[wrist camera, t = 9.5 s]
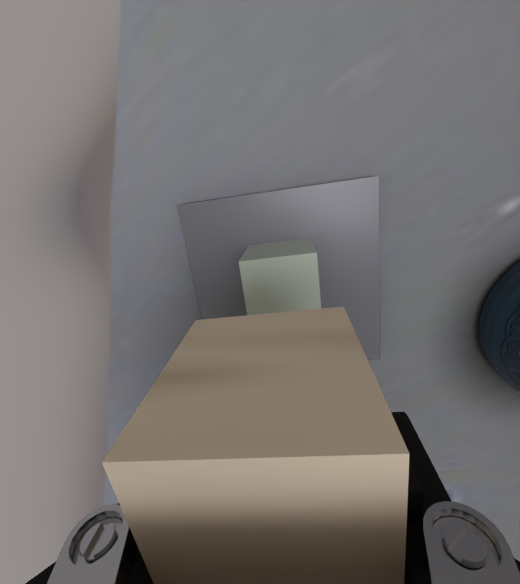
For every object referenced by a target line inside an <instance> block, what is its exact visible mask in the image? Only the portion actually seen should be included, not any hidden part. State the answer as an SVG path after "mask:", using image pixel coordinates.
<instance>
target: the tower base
mask: <svg viewBox="0 0 520 584" xmlns="http://www.w3.org/2000/svg"><path fill="white" fill-rule="evenodd" d="M177 208H178V212H179V217H180V221H181V226H182V230H183V235H184V240H185V244H186V249H187V253H188V258H189V262H190V267H191V271H192V276H193V280H194V285H195V289H196V294H197V298H198V303H199V307H200V312H201V316H202V319H213V318H224V317H235V316H246V315H257V314H268V313H279V312H290V311H301V310H312V309H323V308H334V307H344V308H345V310H346V312H347V315H348V317H349V319H350V321H351V324H352V326H353V328H354V330H355V333H356V335H357V337H358V339H359V342H360V344H361V346H362V348H363V351H364V353H365V355H366V357H367V360H374V359H380V279H379V176H373V177H366V178H360V179H353V180H346V181H339V182H332V183H325V184H318V185H311V186H304V187H297V188H290V189H283V190H276V191H270V192H263V193H256V194H249V195H242V196H235V197H228V198H221V199H214V200H207V201H200V202H193V203H186V204H180V205H177Z"/></svg>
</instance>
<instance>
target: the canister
mask: <svg viewBox="0 0 520 584" xmlns="http://www.w3.org/2000/svg"><path fill="white" fill-rule="evenodd" d="M479 340H480V344H481V347H482V350H483V352H484V354H485V356H486V357H487V359H488V360H489V361H490V363H491V365H492V366H493V368H494V370H495V371H496V372H497V373H498V375H499V376H500V377H501V378H502V379H504V380H505V381H506V382H507V383H508V384H509V385H510V386H511V387H512V388H514V389H515V390H516V391H518V392H519V393H520V261H519V262H517V263H516V264H515V265H514V266H513V267H511V268H510V269H509V270H508V271H507V272H506V273H505V274H504V275H503V276H502V277H501V278H500V280H499V281H498V282H497V283H496V285H495V286H494V287H493V289H492V290H491V292H490V294H489V295H488V297H487V299H486V301H485V303H484V306H483V308H482V311H481V315H480V319H479Z"/></svg>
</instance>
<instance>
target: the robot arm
mask: <svg viewBox="0 0 520 584" xmlns="http://www.w3.org/2000/svg"><path fill="white" fill-rule="evenodd" d="M391 413H392V416H393V418H394V420H395V422H396V425H397V427H398V429H399V431H400V433H401V436H402V438H403V440H404V442H405V445H406V447H407V449H408V451H409V479H408V503H407V527H406V552H405V576H404V584H520V562H519V561H518V560H516V559H515V558H514V557H513V554H512V552H511V549H510V547H509V545H508V543H507V541H506V540H505V538H504V536H503V534H502V533H501V532H500V531H499V530H498V528H497V527H496V526H495V525H494V524H493V523H492V522H491V521H490V520H489V519H487V518H486V517H485V516H484V515H483V514H481V513H480V512H478V511H476V510H474V509H473V508H471V507H469V506H467V505H464V504H460V503H457V502H452V501H451V499H450V498H449V496H448V494H447V492H446V490H445V488H444V486H443V484H442V482H441V480H440V478H439V476H438V474H437V472H436V470H435V468H434V466H433V464H432V462H431V460H430V458H429V457H428V455H427V453H426V451H425V449H424V447H423V445H422V443H421V441H420V439H419V437H418V435H417V433H416V431H415V429H414V427H413V425H412V423H411V421H410V419H409V418H408V416H407V414H406V413H405V412H391ZM26 584H154V583H153V581H152V579H151V576H150V574H149V572H148V569H147V567H146V565H145V562H144V560H143V558H142V555H141V553H140V551H139V548H138V546H137V544H136V541H135V539H134V537H133V534H132V532H131V530H130V527H129V525H128V523H127V520H126V518H125V516H124V513H123V511H122V509H121V506H120V504H119V503H118V505H117V504H113V505H106V506H103V507H100V508H98V509H96V510H94V511H93V512H91V513H90V514H88V515H87V516H86V517H84V518H83V519H82V520H81V521H80V522H79V523H78V524H77V525H76V526H75V528H74V529H73V530H72V531H71V533H70V534H69V536H68V537H67V540H66V541H65V543H64V545H63V547H62V550H61V552H60V554H59V557H58V559H57V561H56V562H55V563H53V564H52V565H51V566H49V567H48V568H46V569H45V570H44V571H42V572H41V573H39V574H38V575H37V576H35V577H34V578H33V579H31V580H30V581H28V582H27V583H26Z"/></svg>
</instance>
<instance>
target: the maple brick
mask: <svg viewBox="0 0 520 584" xmlns="http://www.w3.org/2000/svg"><path fill="white" fill-rule="evenodd" d="M102 464H103V467H104V468H105V471H106V474H107V476H108V478H109V481H110V483H111V485H112V488H113V490H114V492H115V495H116V497H117V499H118V502H119V504H120V506H121V509H122V511H123V513H124V516H125V518H126V520H127V523H128V525H129V527H130V530H131V532H132V534H133V537H134V539H135V541H136V544H137V546H138V548H139V551H140V553H141V555H142V558H143V560H144V562H145V565H146V567H147V569H148V572H149V574H150V576H151V579H152V581H153V583H154V584H404V576H405V552H406V527H407V503H408V479H409V451H408V449H407V447H406V445H405V442H404V440H403V438H402V436H401V433H400V431H399V429H398V427H397V425H396V422H395V420H394V418H393V416H392V413H391V411H390V409H389V407H388V404H387V402H386V400H385V398H384V395H383V393H382V391H381V389H380V386H379V384H378V382H377V380H376V377H375V375H374V373H373V371H372V369H371V366H370V364H369V362H368V360H367V357H366V355H365V353H364V351H363V348H362V346H361V344H360V342H359V339H358V337H357V335H356V333H355V330H354V328H353V326H352V324H351V321H350V319H349V317H348V315H347V312H346V310H345V308H344V307H334V308H323V309H312V310H301V311H290V312H279V313H268V314H257V315H246V316H235V317H224V318H213V319H202V320H195V322H194V323H193V325H192V326H191V328H190V329H189V331H188V332H187V334H186V335H185V337H184V338H183V340H182V341H181V343H180V344H179V346H178V347H177V349H176V351H175V352H174V354H173V355H172V357H171V358H170V360H169V361H168V363H167V364H166V366H165V367H164V369H163V370H162V372H161V373H160V375H159V376H158V378H157V379H156V381H155V382H154V384H153V385H152V387H151V388H150V390H149V391H148V393H147V395H146V396H145V398H144V399H143V401H142V402H141V404H140V405H139V407H138V408H137V410H136V411H135V413H134V414H133V416H132V417H131V419H130V420H129V422H128V423H127V425H126V426H125V428H124V429H123V431H122V432H121V434H120V435H119V437H118V439H117V440H116V442H115V443H114V445H113V446H112V448H111V449H110V451H109V452H108V454H107V455H106V457H105V458H104V460H103V461H102Z"/></svg>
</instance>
